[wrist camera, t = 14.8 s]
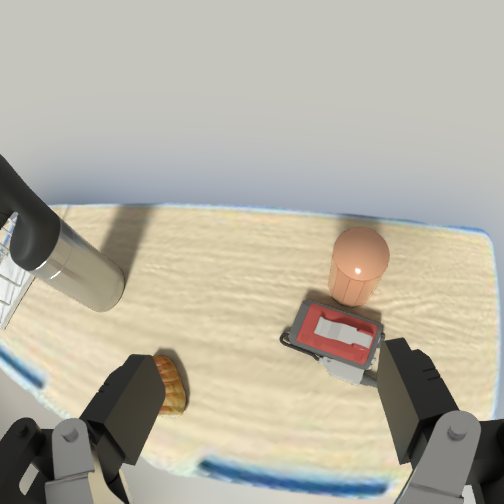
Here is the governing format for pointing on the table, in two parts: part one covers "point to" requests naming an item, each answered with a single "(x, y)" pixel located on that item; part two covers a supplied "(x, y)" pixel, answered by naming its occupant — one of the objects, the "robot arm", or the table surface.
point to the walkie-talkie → (337, 341)
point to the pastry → (170, 388)
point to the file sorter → (11, 284)
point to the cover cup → (357, 266)
